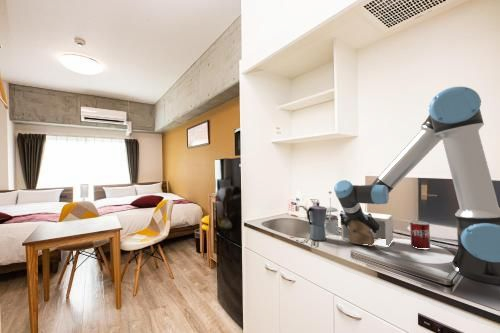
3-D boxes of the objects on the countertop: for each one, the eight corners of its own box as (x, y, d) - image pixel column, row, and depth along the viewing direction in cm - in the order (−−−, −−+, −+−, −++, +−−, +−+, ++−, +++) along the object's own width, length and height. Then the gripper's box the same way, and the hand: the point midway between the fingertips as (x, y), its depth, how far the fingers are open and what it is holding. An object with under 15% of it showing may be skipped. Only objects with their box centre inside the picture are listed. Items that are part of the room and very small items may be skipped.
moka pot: (332, 237, 121) (331, 202, 121) (317, 244, 111) (315, 205, 111) (318, 234, 128) (316, 200, 128) (302, 240, 118) (300, 203, 119)
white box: (393, 242, 111) (392, 215, 111) (388, 248, 103) (387, 219, 103) (348, 234, 126) (347, 210, 126) (341, 239, 118) (340, 213, 118)
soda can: (434, 251, 98) (433, 224, 98) (416, 250, 100) (415, 224, 100) (424, 245, 105) (423, 220, 105) (407, 244, 107) (406, 220, 107)
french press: (324, 234, 127) (323, 192, 127) (321, 229, 138) (319, 190, 138) (342, 235, 125) (340, 192, 125) (337, 229, 136) (335, 190, 137)
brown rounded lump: (373, 244, 106) (372, 219, 106) (370, 247, 102) (369, 221, 102) (352, 239, 113) (351, 217, 113) (349, 242, 109) (348, 219, 109)
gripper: (325, 211, 105) (338, 235, 116) (378, 217, 89) (387, 244, 101) (329, 199, 109) (342, 223, 120) (380, 202, 93) (389, 230, 104)
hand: (362, 233), depth 110 cm, fingers closed on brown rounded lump, 10 cm apart
